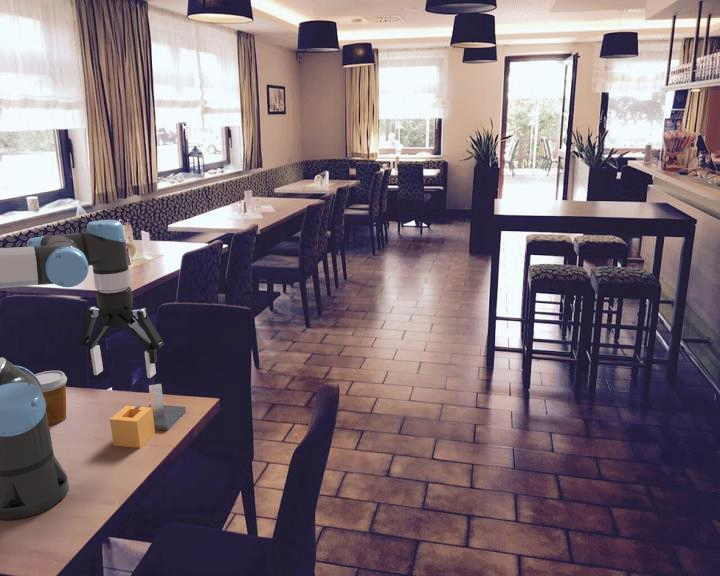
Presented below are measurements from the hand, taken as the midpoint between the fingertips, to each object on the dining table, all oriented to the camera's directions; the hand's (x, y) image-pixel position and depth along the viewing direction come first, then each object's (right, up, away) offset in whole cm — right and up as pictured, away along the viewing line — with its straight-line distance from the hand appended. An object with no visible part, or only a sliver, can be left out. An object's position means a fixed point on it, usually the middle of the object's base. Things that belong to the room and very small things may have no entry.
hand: (125, 374), depth 142 cm
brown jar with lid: (-24, -14, +14) cm, 31 cm away
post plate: (+4, -14, +13) cm, 19 cm away
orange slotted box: (+1, -16, +4) cm, 17 cm away
